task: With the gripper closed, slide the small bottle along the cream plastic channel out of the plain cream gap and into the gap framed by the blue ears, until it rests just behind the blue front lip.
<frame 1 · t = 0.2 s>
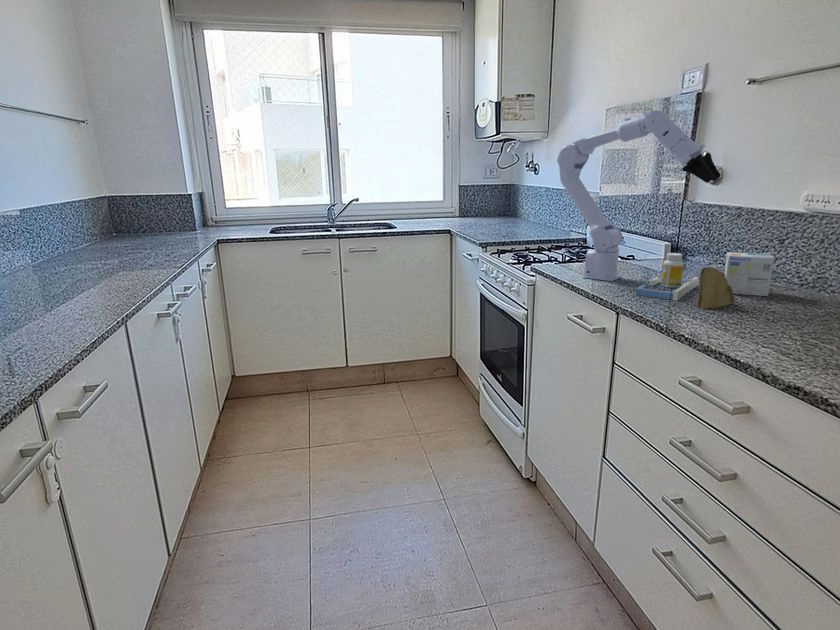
hand: (714, 179, 137), 31 cm above the worktop, tool tilted 45°, fingers open, 7 cm apart
supplement bottle: (670, 286, 150), on the worktop
light bulb box: (743, 293, 142), on the worktop
channel: (664, 289, 146), on the worktop
rock: (715, 306, 130), on the worktop
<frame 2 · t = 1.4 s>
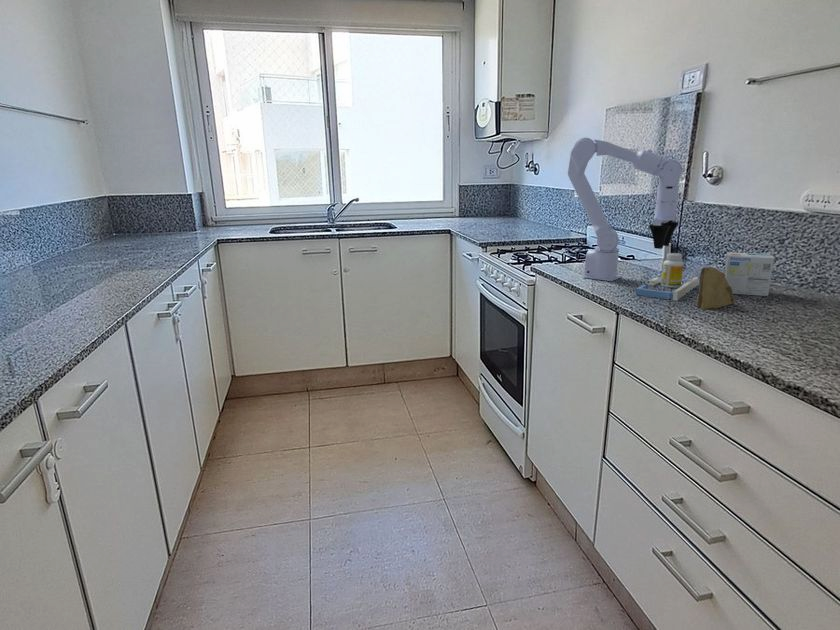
hand: (661, 247, 155), 10 cm above the worktop, tool pointing down, fingers open, 6 cm apart
nothing on the worktop moved.
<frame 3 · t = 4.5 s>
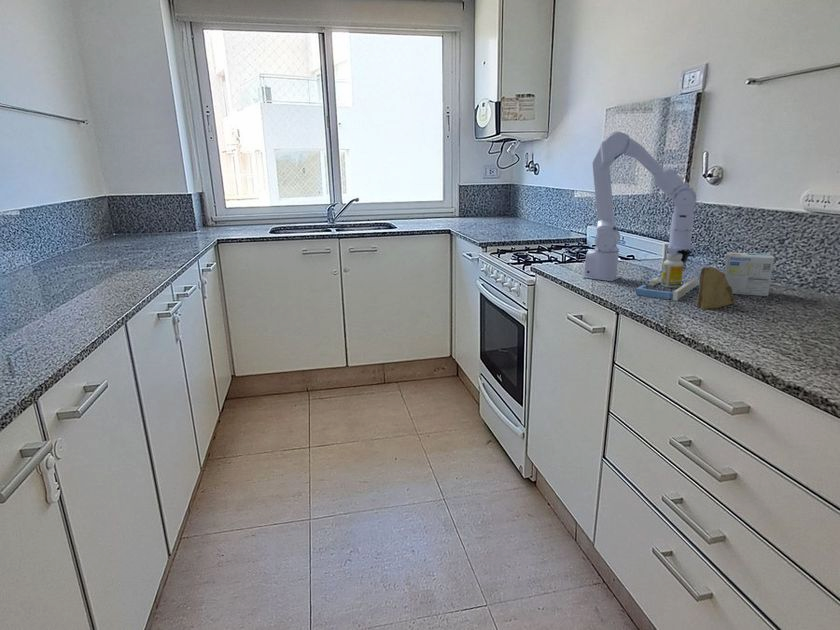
hand: (676, 275, 153), 2 cm above the worktop, tool pointing down, fingers closed
supplement bottle: (670, 286, 150), on the worktop, touching gripper
everything else where it was.
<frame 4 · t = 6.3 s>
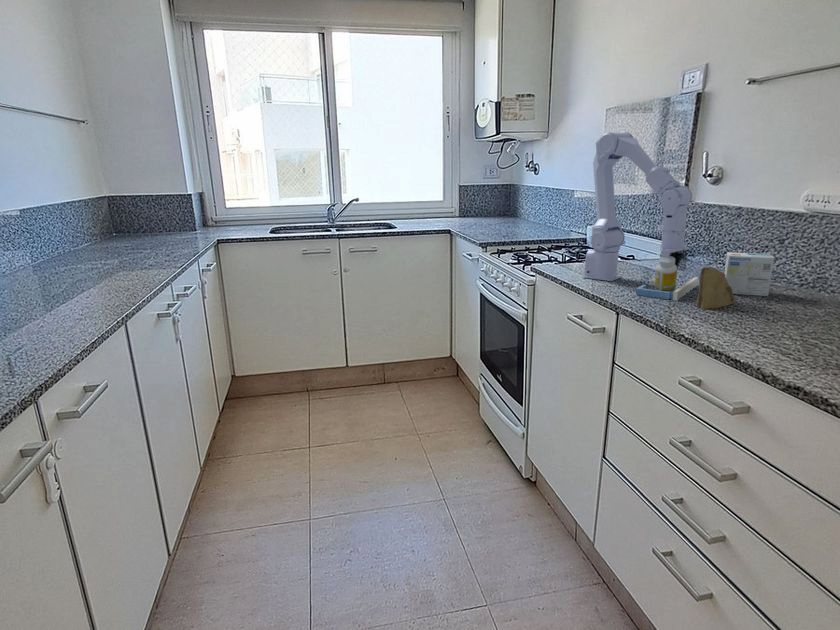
hand: (670, 278, 145), 3 cm above the worktop, tool pointing down, fingers closed, pressing on supplement bottle
supplement bottle: (664, 289, 145), on the worktop, touching gripper
everything else where it was.
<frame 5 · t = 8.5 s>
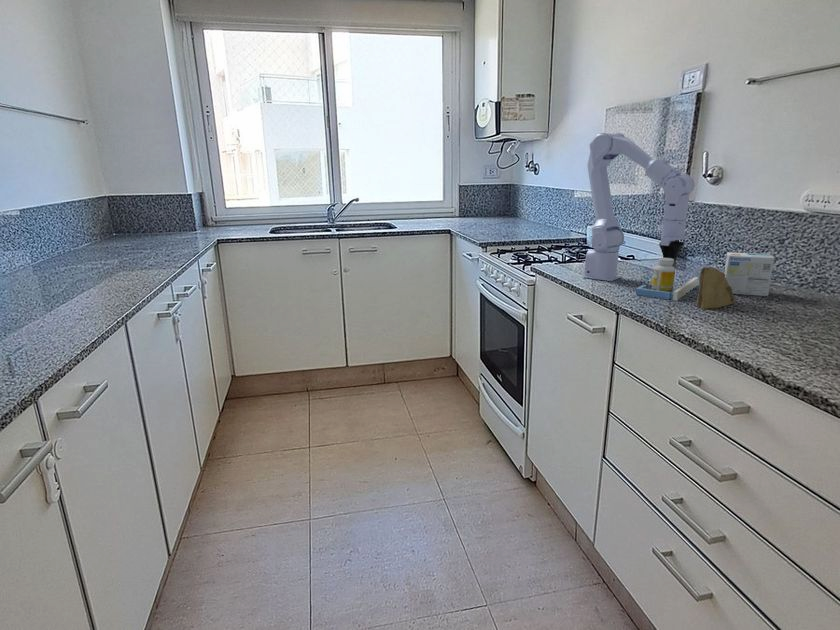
hand: (668, 267, 146), 6 cm above the worktop, tool pointing down, fingers closed
supplement bottle: (661, 292, 144), on the worktop
everything else where it was.
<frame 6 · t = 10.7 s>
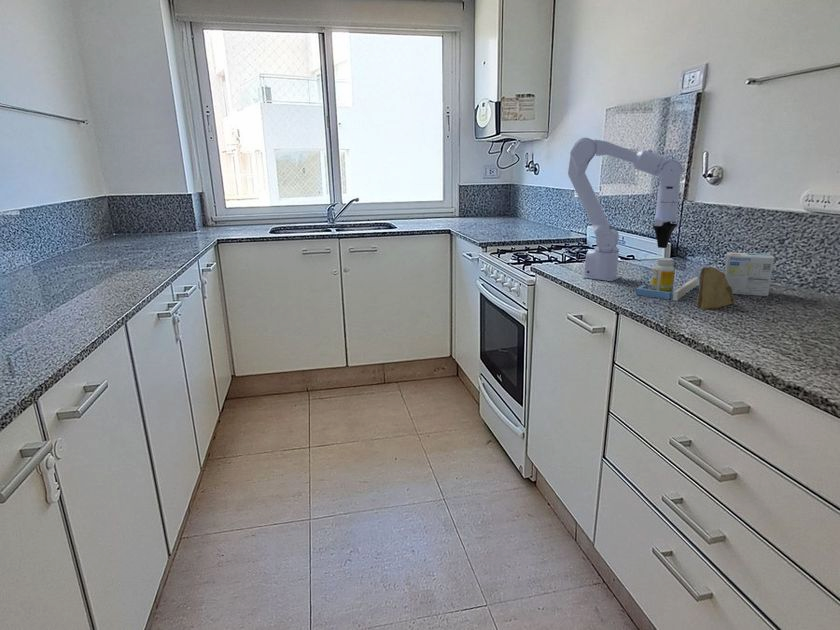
hand: (662, 247, 154), 10 cm above the worktop, tool pointing down, fingers closed
nothing on the worktop moved.
at the end: supplement bottle 2.6 cm from the target spot on the channel, point 0.0 cm above the channel's base; supplement bottle tilted 1°; supplement bottle moved 9.5 cm from its start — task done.
